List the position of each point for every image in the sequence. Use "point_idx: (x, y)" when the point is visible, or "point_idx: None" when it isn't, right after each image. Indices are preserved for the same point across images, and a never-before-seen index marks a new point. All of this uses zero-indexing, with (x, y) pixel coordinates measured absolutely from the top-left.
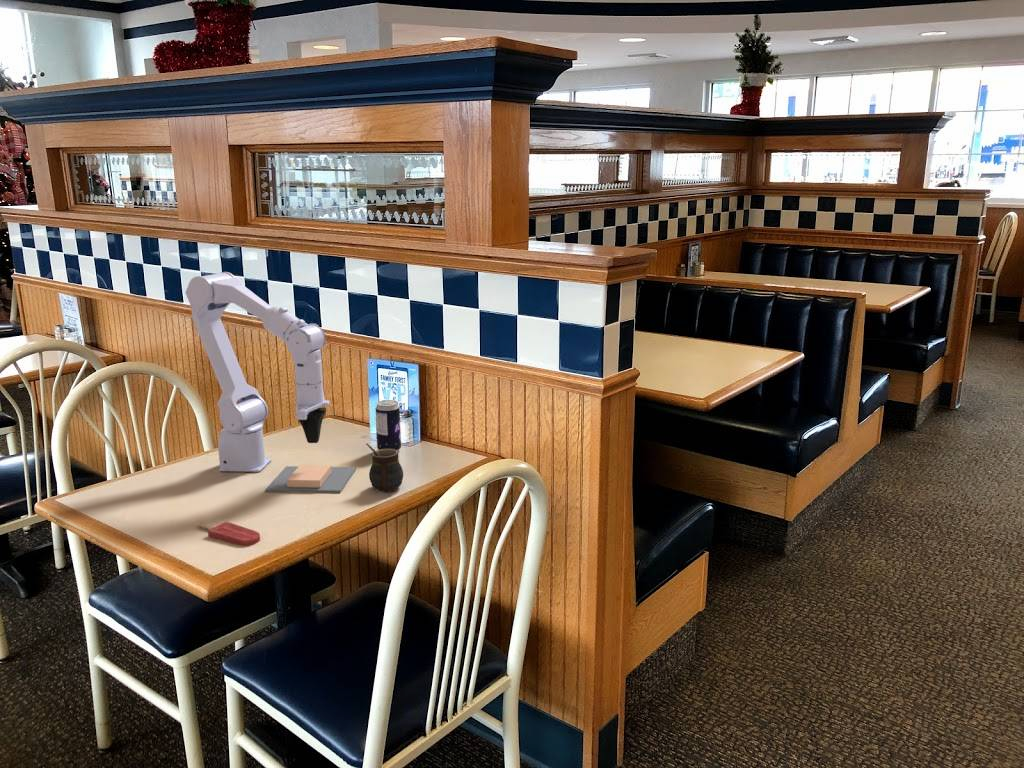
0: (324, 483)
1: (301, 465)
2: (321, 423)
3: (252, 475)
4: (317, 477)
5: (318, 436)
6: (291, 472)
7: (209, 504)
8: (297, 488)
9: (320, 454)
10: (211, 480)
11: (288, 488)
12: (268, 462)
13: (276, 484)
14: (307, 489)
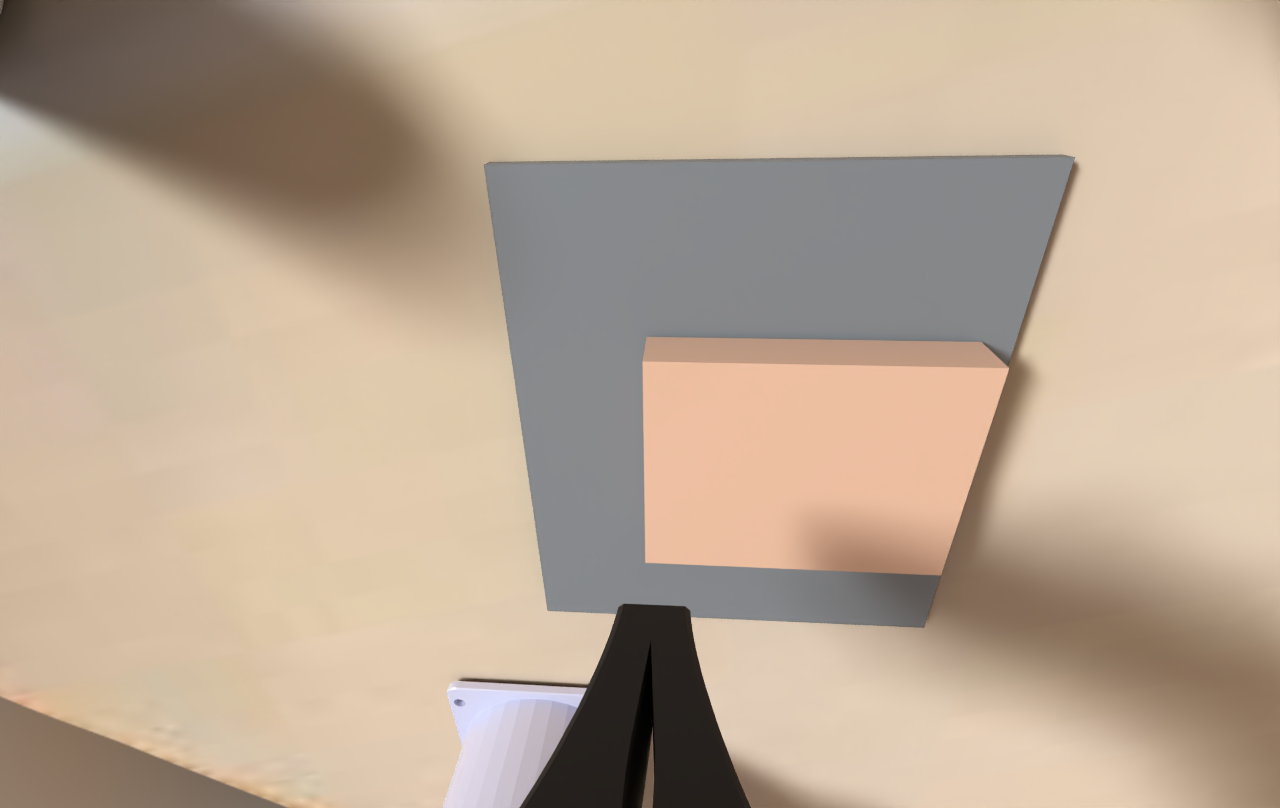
0: (870, 333)
1: (653, 553)
2: (547, 796)
3: None
4: (928, 400)
5: (668, 656)
6: (647, 568)
7: (1042, 763)
8: None
9: (270, 489)
10: None
11: None
12: (499, 686)
13: (851, 596)
14: None
